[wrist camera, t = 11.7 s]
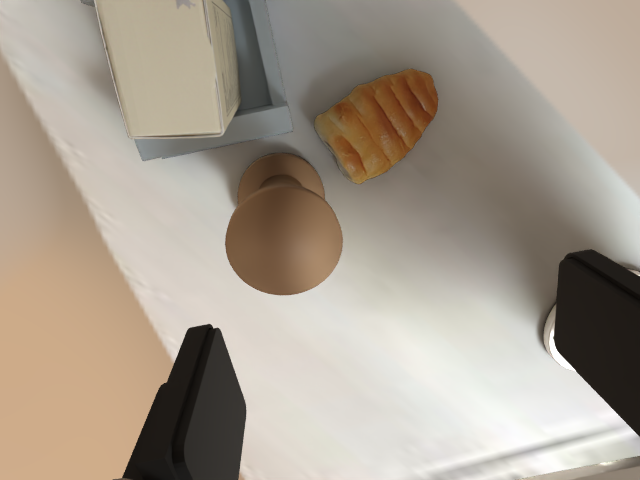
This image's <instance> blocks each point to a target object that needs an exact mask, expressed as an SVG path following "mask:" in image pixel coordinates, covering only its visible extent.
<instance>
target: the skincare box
mask: <svg viewBox="0 0 640 480" xmlns="http://www.w3.org/2000/svg"><path fill="white" fill-rule="evenodd" d="M94 3H95V8H96V13H97V18H98V23H99V27H100V32H101V36H102V40H103V44H104V49H105V52H106V56H107V61H108V64H109V68H110V72H111V76H112V80H113V84H114V88H115V91H116V95H117V99H118V103H119V106H120V109H121V113H122V117H123V120H124V123H125V127H126V131H127V134H128V137H129V138H131V139H177V138H204V137H220V136H222V135H223V134H224V132H225V130H226V128H227V126H228V125H229V123H230V121H231V120H232V118H233V116H234V114H235V112H236V111H237V109H238V107H239V105H240V104H241V89H240V78H239V69H238V60H237V52H236V44H235V36H234V29H233V22H232V15H231V10H230V8H229V7H228V6H227V5H226V4H225V2H224V1H223V0H94Z"/></svg>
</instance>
